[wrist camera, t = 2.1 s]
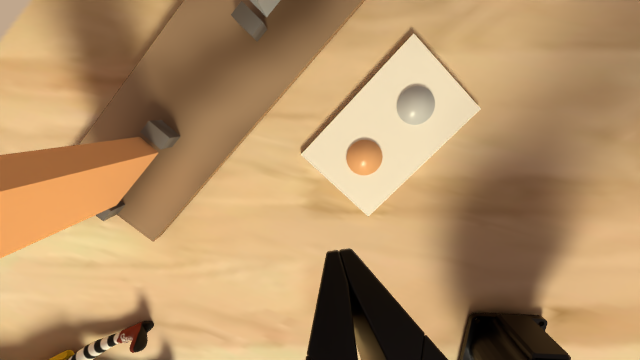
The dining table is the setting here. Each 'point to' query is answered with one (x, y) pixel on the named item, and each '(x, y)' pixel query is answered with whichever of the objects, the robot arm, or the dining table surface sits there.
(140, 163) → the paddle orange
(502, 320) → the robot arm
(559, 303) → the dining table surface
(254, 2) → the grey tall block
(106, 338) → the figurine
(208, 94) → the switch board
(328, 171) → the card
